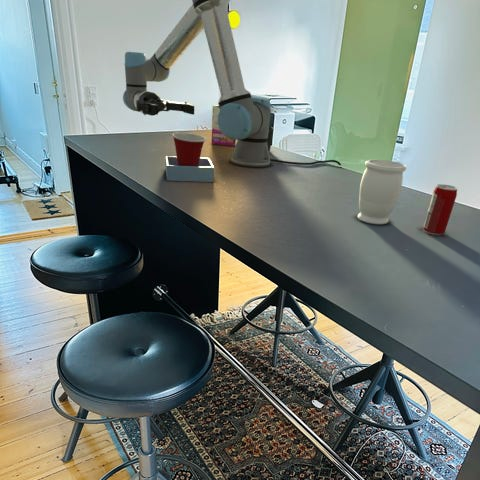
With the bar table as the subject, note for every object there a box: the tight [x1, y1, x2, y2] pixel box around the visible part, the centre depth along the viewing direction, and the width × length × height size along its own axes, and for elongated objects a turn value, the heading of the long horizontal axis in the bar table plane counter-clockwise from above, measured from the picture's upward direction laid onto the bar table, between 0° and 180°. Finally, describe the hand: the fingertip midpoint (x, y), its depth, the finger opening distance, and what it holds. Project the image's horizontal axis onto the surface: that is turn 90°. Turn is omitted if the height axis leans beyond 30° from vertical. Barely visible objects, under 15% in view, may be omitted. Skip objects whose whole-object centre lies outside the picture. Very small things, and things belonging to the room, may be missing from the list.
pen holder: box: [267, 126, 274, 152], centre depth 197 cm, size 9×9×10 cm
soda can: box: [422, 183, 458, 236], centre depth 113 cm, size 6×6×12 cm
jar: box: [357, 159, 407, 225], centre depth 117 cm, size 11×10×15 cm
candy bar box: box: [211, 104, 237, 147], centre depth 203 cm, size 11×5×16 cm, turn 81°
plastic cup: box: [172, 131, 207, 167], centre depth 145 cm, size 11×11×12 cm
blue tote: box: [165, 155, 215, 183], centre depth 148 cm, size 15×15×5 cm
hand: (175, 110), depth 146 cm, fingers open, 13 cm apart
